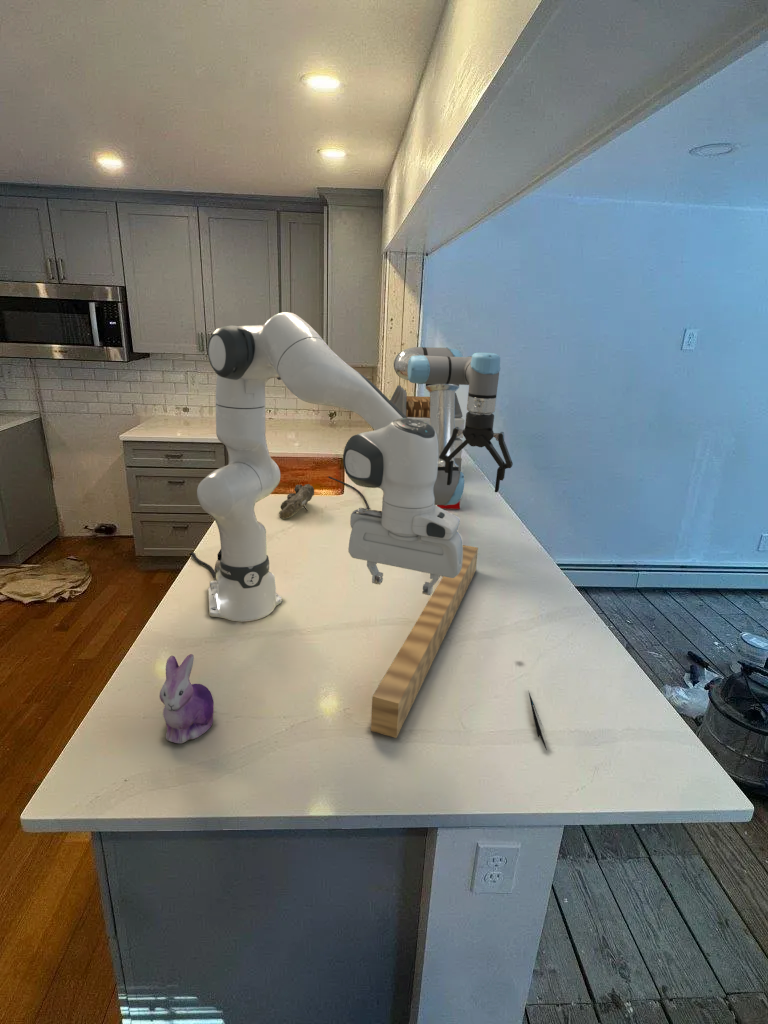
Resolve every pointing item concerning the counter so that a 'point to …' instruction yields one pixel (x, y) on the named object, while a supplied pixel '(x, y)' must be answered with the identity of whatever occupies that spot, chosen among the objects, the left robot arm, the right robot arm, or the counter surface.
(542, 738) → the feather
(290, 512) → the fossil
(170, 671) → the figurine
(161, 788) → the counter surface
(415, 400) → the transformer
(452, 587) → the bar
